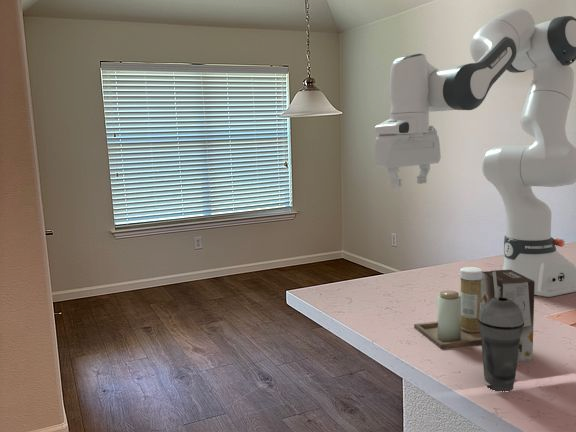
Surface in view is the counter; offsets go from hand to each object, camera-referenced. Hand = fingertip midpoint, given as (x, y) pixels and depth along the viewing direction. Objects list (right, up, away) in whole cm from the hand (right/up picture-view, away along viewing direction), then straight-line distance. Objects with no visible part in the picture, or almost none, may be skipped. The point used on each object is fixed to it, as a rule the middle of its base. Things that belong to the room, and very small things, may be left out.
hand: (409, 185), depth 124 cm
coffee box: (+13, -35, -23) cm, 44 cm away
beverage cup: (+7, -37, -34) cm, 51 cm away
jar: (+4, -33, -16) cm, 37 cm away
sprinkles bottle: (+10, -32, -12) cm, 36 cm away
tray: (+8, -33, -13) cm, 37 cm away
